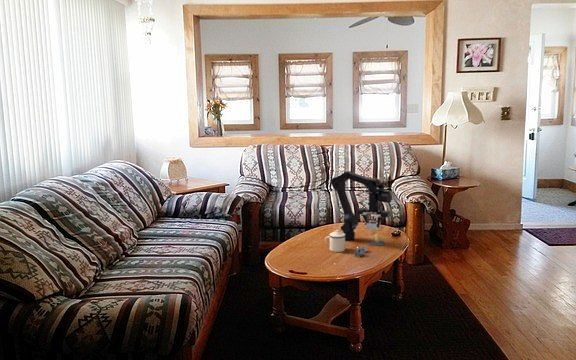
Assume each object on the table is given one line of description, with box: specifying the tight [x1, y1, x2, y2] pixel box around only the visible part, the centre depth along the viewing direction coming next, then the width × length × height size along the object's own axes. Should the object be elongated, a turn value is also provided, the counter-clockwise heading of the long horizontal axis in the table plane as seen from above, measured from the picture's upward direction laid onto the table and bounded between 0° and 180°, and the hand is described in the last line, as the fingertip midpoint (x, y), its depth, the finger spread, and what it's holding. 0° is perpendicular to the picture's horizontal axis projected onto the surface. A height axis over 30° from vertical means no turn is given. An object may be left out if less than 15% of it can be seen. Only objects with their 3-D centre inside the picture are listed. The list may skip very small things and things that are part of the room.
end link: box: [365, 220, 381, 231], centre depth 282 cm, size 6×6×4 cm
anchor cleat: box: [354, 246, 364, 258], centre depth 266 cm, size 5×3×5 cm, turn 150°
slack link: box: [359, 245, 368, 254], centre depth 273 cm, size 4×3×2 cm
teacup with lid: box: [324, 229, 346, 253], centre depth 276 cm, size 12×9×12 cm
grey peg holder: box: [369, 233, 385, 247], centre depth 286 cm, size 8×8×5 cm
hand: (373, 226), depth 282 cm, fingers closed on end link, 6 cm apart
